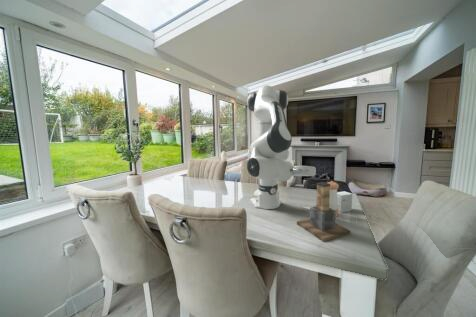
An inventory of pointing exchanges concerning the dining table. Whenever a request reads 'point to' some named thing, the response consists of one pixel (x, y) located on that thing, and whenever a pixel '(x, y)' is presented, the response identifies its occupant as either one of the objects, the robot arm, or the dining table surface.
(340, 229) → the sleeve stand
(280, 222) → the dining table surface
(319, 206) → the oak post
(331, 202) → the pepper shaker
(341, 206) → the small box
